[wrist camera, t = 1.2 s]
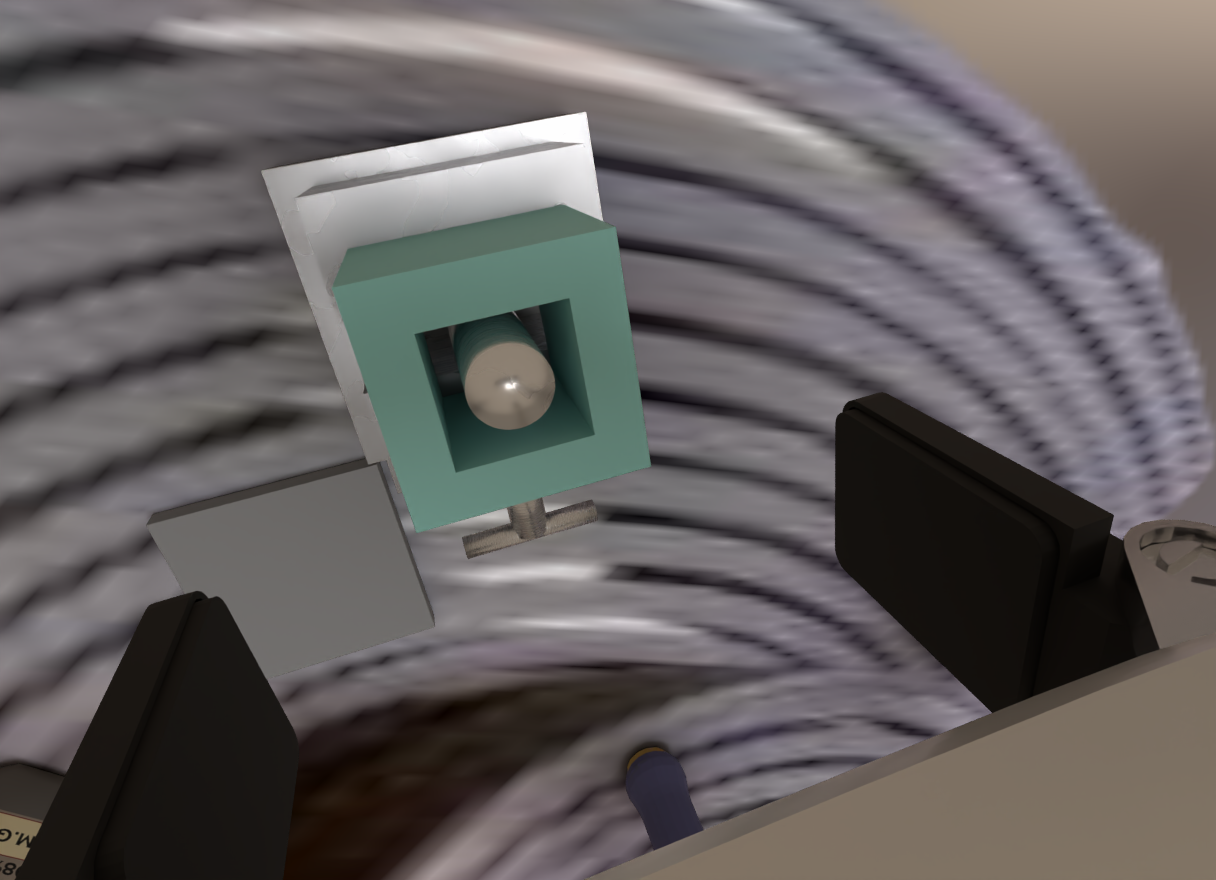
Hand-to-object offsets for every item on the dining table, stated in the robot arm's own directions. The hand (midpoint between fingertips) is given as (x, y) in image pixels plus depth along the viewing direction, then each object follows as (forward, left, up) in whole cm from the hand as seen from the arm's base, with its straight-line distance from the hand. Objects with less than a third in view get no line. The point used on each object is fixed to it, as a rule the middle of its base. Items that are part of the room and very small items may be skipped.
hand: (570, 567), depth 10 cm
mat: (-12, +11, -23) cm, 28 cm away
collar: (0, 0, -15) cm, 15 cm away
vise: (-3, 0, -23) cm, 23 cm away
